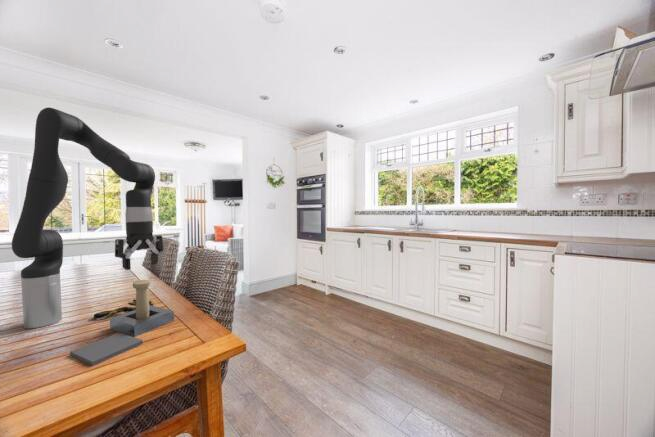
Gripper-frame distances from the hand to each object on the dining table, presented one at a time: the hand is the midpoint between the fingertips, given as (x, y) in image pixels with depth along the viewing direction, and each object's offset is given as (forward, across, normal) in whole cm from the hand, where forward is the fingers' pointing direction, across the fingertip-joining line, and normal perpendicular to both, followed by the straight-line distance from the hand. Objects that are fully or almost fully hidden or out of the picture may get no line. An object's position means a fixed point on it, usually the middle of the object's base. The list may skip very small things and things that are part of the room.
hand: (141, 266), depth 90 cm
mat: (+20, +14, +8) cm, 26 cm away
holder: (+20, 0, 0) cm, 20 cm away
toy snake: (+21, -4, -19) cm, 28 cm away
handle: (+20, 0, 0) cm, 21 cm away
